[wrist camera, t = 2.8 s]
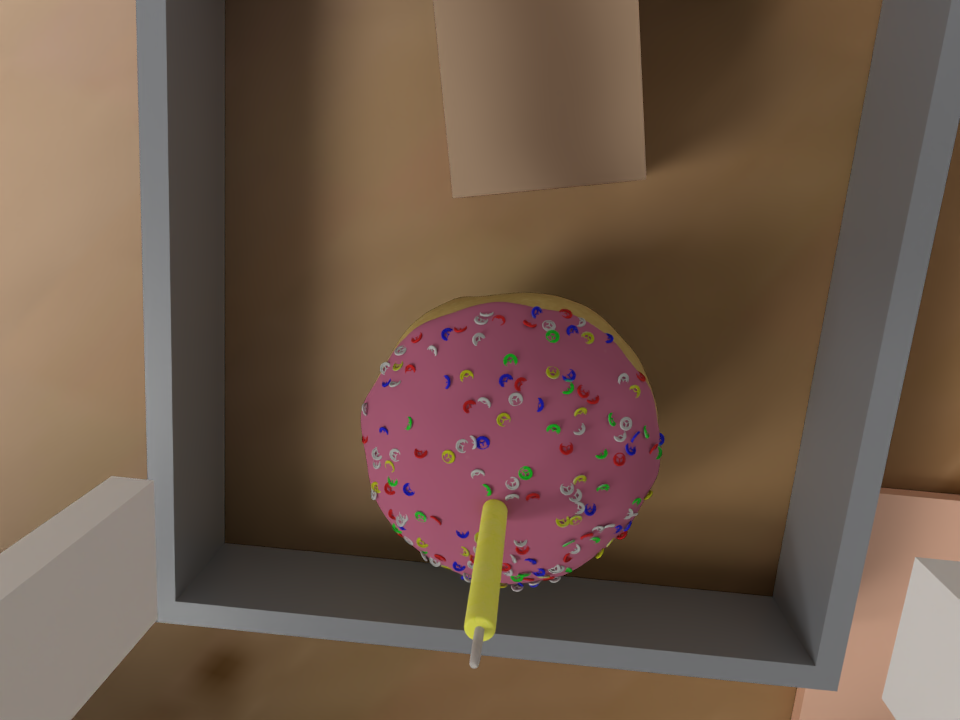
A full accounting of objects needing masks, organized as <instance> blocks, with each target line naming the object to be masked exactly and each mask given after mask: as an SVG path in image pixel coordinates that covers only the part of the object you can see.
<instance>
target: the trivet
mask: <svg viewBox="0 0 960 720" xmlns="http://www.w3.org/2000/svg"><path fill="white" fill-rule="evenodd" d="M915 557H920V558H930V559H940V560H950V561H960V495H957V494H946V493H935V492H924V491H913V490H903V489H892V488H881V489H880V494H879V498H878V503H877V508H876V512H875V517H874V522H873V526H872V531H871V536H870V540H869V545H868V550H867V554H866V559H865V564H864V569H863V573H862V578H861V583H860V587H859V592H858V597H857V601H856V606H855V611H854V615H853V620H852V625H851V629H850V634H849V639H848V643H847V648H846V653H845V657H844V662H843V667H842V671H841V676H840V681H839V686H838V690H837V691H827V690H817V689H808V688H798V687H797V692H796V697H795V702H794V707H793V712H792V717H791V720H896V719H895V717H894V716H893V714H892V713H891V712H890V710H889V709H888V707H887V706H886V704H885V703H884V701H883V700H882V695H883V690H884V686H885V682H886V678H887V674H888V669H889V665H890V661H891V657H892V652H893V648H894V644H895V640H896V636H897V631H898V627H899V623H900V619H901V614H902V610H903V606H904V602H905V598H906V593H907V589H908V585H909V581H910V576H911V572H912V568H913V564H914V560H915Z"/></svg>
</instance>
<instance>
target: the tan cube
mask: <svg viewBox="0 0 960 720" xmlns="http://www.w3.org/2000/svg"><path fill="white" fill-rule="evenodd" d="M433 5H434V15H435V25H436V35H437V45H438V55H439V65H440V75H441V85H442V95H443V105H444V115H445V125H446V135H447V145H448V155H449V165H450V175H451V185H452V196H453V198H461V197H473V196H483V195H493V194H504V193H514V192H525V191H535V190H545V189H556V188H566V187H576V186H587V185H597V184H608V183H618V182H627V181H637V180H646V159H645V137H644V114H643V92H642V69H641V47H640V24H639V2H638V0H433Z"/></svg>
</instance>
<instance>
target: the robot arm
mask: <svg viewBox="0 0 960 720" xmlns="http://www.w3.org/2000/svg"><path fill="white" fill-rule="evenodd" d="M157 619H158V613H157V577H156V541H155V505H154V480H146V479H136V478H126V477H116V476H111V477H110V478H108V479H107V480H105V481H104V482H102V483H101V484H99V485H98V486H97V487H95V488H94V489H92V490H91V491H89V492H88V493H86V494H85V495H84V496H82V497H81V498H79V499H78V500H76V501H75V502H74V503H72V504H71V505H69V506H68V507H66V508H65V509H63V510H62V511H61V512H59V513H58V514H56V515H55V516H53V517H52V518H50V519H49V520H48V521H46V522H45V523H43V524H42V525H40V526H39V527H38V528H36V529H35V530H33V531H32V532H30V533H29V534H27V535H26V536H25V537H23V538H22V539H20V540H19V541H17V542H16V543H14V544H13V545H12V546H10V547H9V548H7V549H6V550H4V551H3V552H2V553H0V720H71V719H72V718H73V717H74V716H75V715H76V714H77V712H78V711H79V710H80V709H81V708H82V707H83V705H84V704H85V703H86V702H87V701H88V700H89V698H90V697H91V696H92V695H93V694H94V693H95V691H96V690H97V689H98V688H99V687H100V686H101V684H102V683H103V682H104V681H105V680H106V679H107V678H108V676H109V675H110V674H111V673H112V672H113V671H114V669H115V668H116V667H117V666H118V665H119V664H120V662H121V661H122V660H123V659H124V658H125V657H126V655H127V654H128V653H129V652H130V651H131V650H132V648H133V647H134V646H135V645H136V644H137V643H138V641H139V640H140V639H141V638H142V637H143V636H144V634H145V633H146V632H147V631H148V630H149V629H150V627H151V626H152V625H153V624H154V623H155V622H156V620H157ZM882 700H883V701H884V703H885V704H886V706H887V707H888V709H889V710H890V712H891V713H892V714H893V716H894V717H895V719H896V720H960V561H950V560H940V559H930V558H920V557H915V560H914V564H913V568H912V572H911V576H910V581H909V585H908V589H907V593H906V598H905V602H904V606H903V610H902V614H901V619H900V623H899V627H898V631H897V636H896V640H895V644H894V648H893V652H892V657H891V661H890V665H889V669H888V674H887V678H886V682H885V686H884V690H883V695H882Z"/></svg>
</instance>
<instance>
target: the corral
mask: <svg viewBox="0 0 960 720" xmlns="http://www.w3.org/2000/svg"><path fill="white" fill-rule="evenodd" d="M136 25H137V66H138V107H139V148H140V189H141V230H142V272H143V313H144V354H145V395H146V436H147V477H148V480H154V505H155V541H156V577H157V613H158V619H157V620H156V622H161V623H171V624H181V625H190V626H200V627H210V628H220V629H230V630H239V631H249V632H259V633H269V634H279V635H288V636H298V637H308V638H318V639H328V640H337V641H347V642H357V643H367V644H377V645H386V646H396V647H406V648H416V649H426V650H435V651H445V652H455V653H465V654H471V649H472V642H473V640H472V639H471V638H469V637H468V636H467V634H466V633H465V630H464V623H465V616H466V610H467V604H468V597H469V591H470V585H471V582H467V581H465V580H462V579H461V576H463V575H461V574H459V573H457V572H454V571H452V570H449V569H446V568H443V567H441V565H440V566H438V567H435V566H433V565H432V564H431V563H424V562H413V561H403V560H393V559H383V558H373V557H362V556H352V555H342V554H332V553H321V552H311V551H301V550H291V549H281V548H270V547H260V546H250V545H240V544H230V543H225V0H136ZM959 119H960V0H883V2H882V7H881V13H880V18H879V23H878V29H877V34H876V40H875V45H874V50H873V56H872V61H871V67H870V72H869V77H868V83H867V88H866V94H865V99H864V104H863V110H862V115H861V121H860V126H859V132H858V137H857V142H856V148H855V153H854V159H853V164H852V169H851V175H850V180H849V186H848V191H847V196H846V202H845V207H844V213H843V218H842V223H841V229H840V234H839V240H838V245H837V250H836V256H835V261H834V267H833V272H832V277H831V283H830V288H829V294H828V299H827V304H826V310H825V315H824V321H823V326H822V332H821V337H820V342H819V348H818V353H817V359H816V364H815V369H814V375H813V380H812V386H811V391H810V396H809V402H808V407H807V413H806V418H805V423H804V429H803V434H802V440H801V445H800V450H799V456H798V461H797V467H796V472H795V477H794V483H793V488H792V494H791V499H790V504H789V510H788V515H787V521H786V526H785V531H784V537H783V542H782V548H781V553H780V559H779V564H778V569H777V575H776V580H775V586H774V591H773V596H772V597H771V596H760V595H750V594H740V593H730V592H720V591H709V590H699V589H689V588H679V587H669V586H658V585H648V584H638V583H628V582H617V581H607V580H597V579H587V578H577V577H566V576H561V579H560V580H559V581H558V582H556V583H552V582H550V581H549V580H548V581H543V580H542V581H541V582H540V583H539V585H538V586H537V587H531V586H530V585H529V582H528V583H522V584H523V589H522V590H521V591H519V592H516V591H513V590H512V589H511V585H512V584H508V586H507V587H505V588H500V592H499V602H498V612H497V622H496V630H495V634H494V635H493V637H492V638H491V639H489V640H487V641H483V644H482V651H481V655H484V656H494V657H504V658H514V659H524V660H533V661H543V662H553V663H563V664H573V665H582V666H592V667H602V668H612V669H621V670H631V671H641V672H651V673H661V674H670V675H680V676H690V677H700V678H710V679H719V680H729V681H739V682H749V683H759V684H768V685H778V686H788V687H798V688H808V689H817V690H827V691H837V690H838V686H839V681H840V676H841V671H842V667H843V662H844V657H845V653H846V648H847V643H848V639H849V634H850V629H851V625H852V620H853V615H854V611H855V606H856V601H857V597H858V592H859V587H860V583H861V578H862V573H863V569H864V564H865V559H866V554H867V550H868V545H869V540H870V536H871V531H872V526H873V522H874V517H875V512H876V508H877V503H878V498H879V494H880V489H881V484H882V480H883V475H884V470H885V466H886V461H887V456H888V451H889V447H890V442H891V437H892V433H893V428H894V423H895V419H896V414H897V409H898V405H899V400H900V395H901V391H902V386H903V381H904V377H905V372H906V367H907V363H908V358H909V353H910V349H911V344H912V339H913V334H914V330H915V325H916V320H917V316H918V311H919V306H920V302H921V297H922V292H923V288H924V283H925V278H926V274H927V269H928V264H929V260H930V255H931V250H932V246H933V241H934V236H935V231H936V227H937V222H938V217H939V213H940V208H941V203H942V199H943V194H944V189H945V185H946V180H947V175H948V171H949V166H950V161H951V157H952V152H953V147H954V143H955V138H956V133H957V128H958V124H959ZM555 579H557V578H555ZM555 579H554V580H555ZM536 582H537V581H536ZM532 583H534V582H532ZM500 585H501V586H502V585H503V584H500ZM515 586H517V584H516V585H514V587H515ZM518 586H519V585H518ZM519 587H520V586H519ZM516 589H518V587H516Z"/></svg>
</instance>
